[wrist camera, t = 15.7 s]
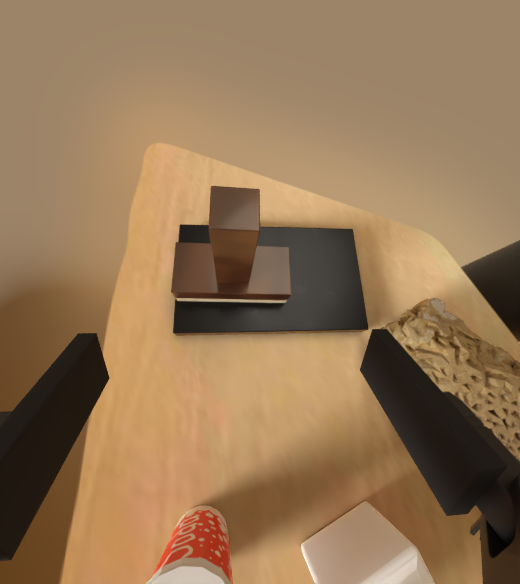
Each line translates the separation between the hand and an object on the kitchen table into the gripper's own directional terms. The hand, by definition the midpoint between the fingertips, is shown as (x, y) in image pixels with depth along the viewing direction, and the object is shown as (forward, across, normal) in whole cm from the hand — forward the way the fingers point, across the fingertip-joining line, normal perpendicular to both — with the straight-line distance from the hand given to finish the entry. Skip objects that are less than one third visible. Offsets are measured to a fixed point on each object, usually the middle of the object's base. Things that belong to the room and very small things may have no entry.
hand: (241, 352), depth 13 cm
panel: (+16, +4, -4) cm, 17 cm away
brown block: (+15, 0, -3) cm, 15 cm away
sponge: (+8, +23, -13) cm, 28 cm away
